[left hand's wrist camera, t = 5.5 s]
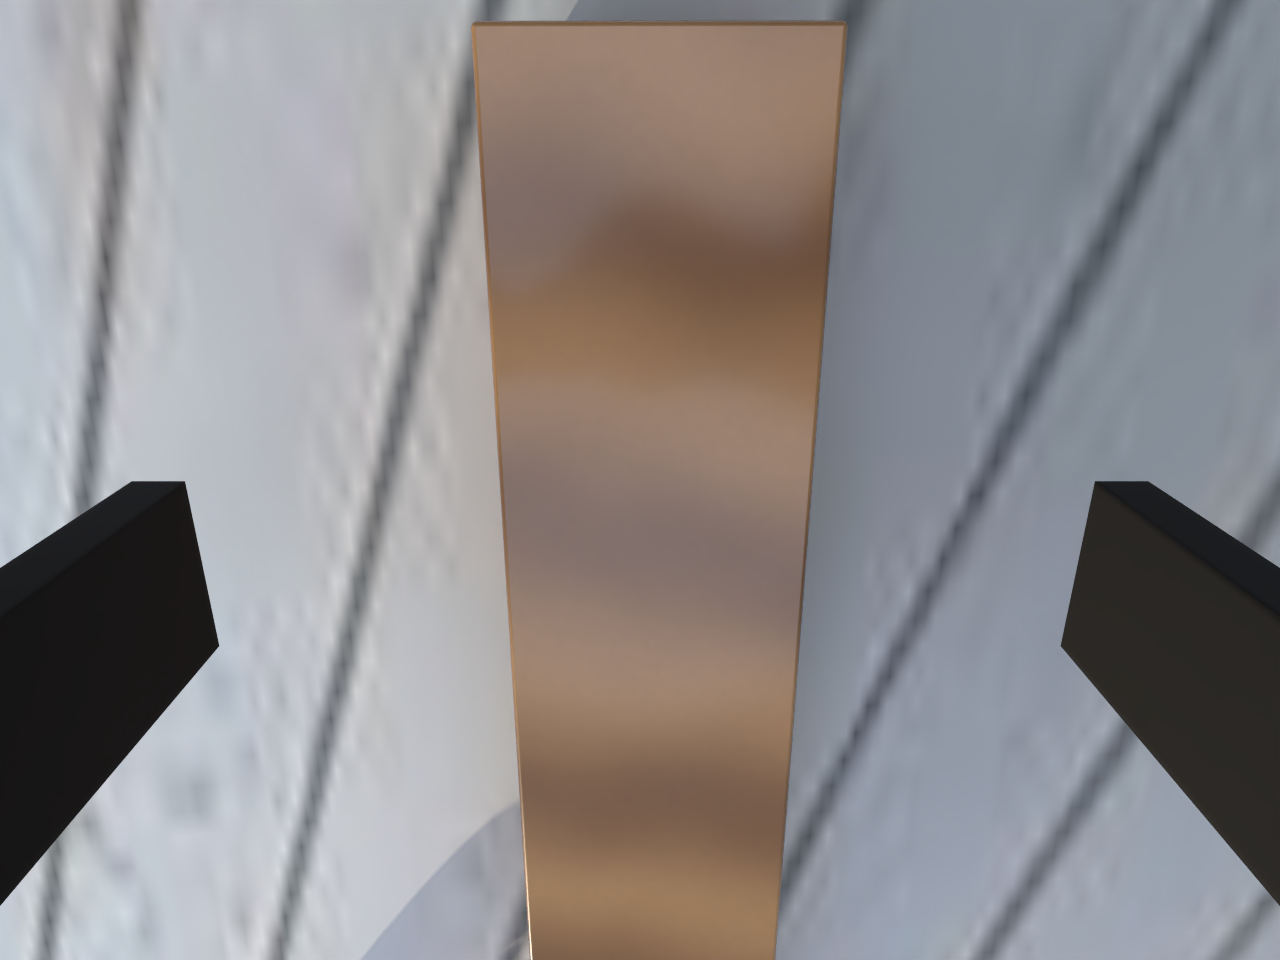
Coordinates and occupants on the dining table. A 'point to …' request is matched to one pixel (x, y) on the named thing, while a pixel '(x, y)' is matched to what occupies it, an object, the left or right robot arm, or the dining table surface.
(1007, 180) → the dining table surface
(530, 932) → the beam
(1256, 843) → the left robot arm
